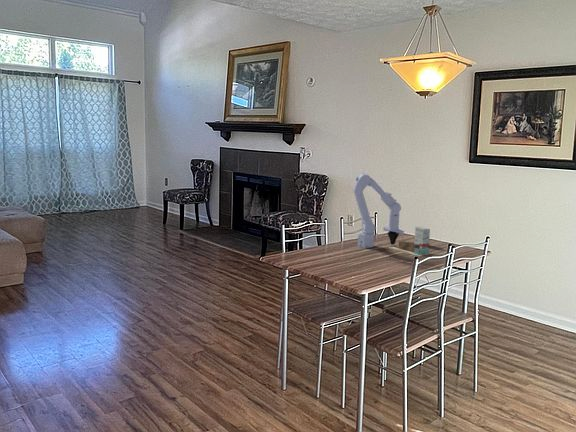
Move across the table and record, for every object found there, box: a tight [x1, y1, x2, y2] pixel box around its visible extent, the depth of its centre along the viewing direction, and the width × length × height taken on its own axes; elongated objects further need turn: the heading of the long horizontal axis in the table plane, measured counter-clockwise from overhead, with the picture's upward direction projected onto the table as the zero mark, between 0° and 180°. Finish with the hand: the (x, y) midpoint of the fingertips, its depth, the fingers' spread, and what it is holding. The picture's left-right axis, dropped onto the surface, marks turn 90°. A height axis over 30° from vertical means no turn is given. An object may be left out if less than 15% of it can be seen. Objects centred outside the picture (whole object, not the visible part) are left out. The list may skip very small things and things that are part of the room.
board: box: [388, 245, 433, 257], centre depth 291 cm, size 13×23×1 cm, turn 36°
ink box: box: [413, 226, 431, 248], centre depth 305 cm, size 9×5×12 cm, turn 22°
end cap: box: [414, 247, 430, 256], centre depth 284 cm, size 8×4×3 cm, turn 126°
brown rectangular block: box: [398, 240, 421, 252], centre depth 292 cm, size 12×4×4 cm, turn 36°
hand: (392, 244), depth 302 cm, fingers closed
